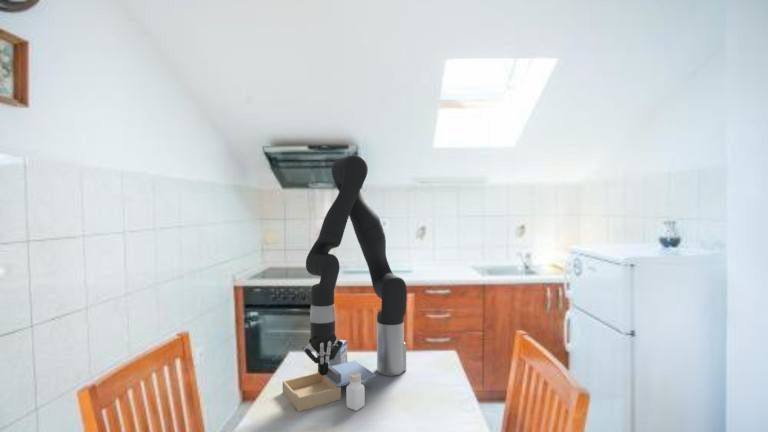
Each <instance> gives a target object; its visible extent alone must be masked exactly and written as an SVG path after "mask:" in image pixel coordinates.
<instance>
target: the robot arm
mask: <svg viewBox="0 0 768 432" xmlns="http://www.w3.org/2000/svg"><path fill="white" fill-rule="evenodd" d="M368 167H369V166H368V164H367V161H366V160H365V159H364V158H363V157H362V156H360V155H357V154H355V155H354V154H351V155H348V156H345V157H341V158H338V159H336V160H335V161H334V162H333V164H332V166H331V175H332V176H331V177H332V179H333V182H334V185H335V186H336V188H337V190H338V194H337V196H336V198H335V199H334V201H333V203H332V205H330V207H329V209H328V210H327V212H326V215H325V217H324V219H323V221H322V225H321V228H320V231H319V235H318V238H317V239H316V240H315V242H314V244H313V246H312V247H311V249H310V251H309V252H308V254H307V257H306V258H305V269H306V271H307V273H308V274H310V275H312V276H316V277H320V279H319V283H315V284H313V285H312V286H311V289H310V309H309V310H310V313H309V317H310V318H309V323H310V324H309V328H310V329H309V330H310V331H309V332H310V339H309V340H308V342H309V343H308V344H307V345H306V346H303V347H302V348H301V349H302V351H303V352H304V353H305V354H306V355H307V357H308V358H309V359H310V360H311V361H312V362H314V363H315V364H317V371H318V372H319V373H320V374H321V375H322V376H323V375H327V372H328V364H329V361H330V360H331V359H332V360H333V359H334V358H335V356H336V354H337V353H338V351H339V350H340V348H341V346H342V345H343V342H341V341H340V340H341V339H338V338H337V335H336V308H335V307H336V306H335V290H336V285H337V283H338V282H337V281H338V277H339V273H340V262H339V259H338V257H337V256H336V255H335V254H333V253H330V252H331V250H333V249H337V248H338V247H340V245H341V243H342V240H343V236H344V233H345V230H346V226H347V223H348V220H350V221H351V224H352V228H353V231H354V234H355V236H356V238H357V239H356V240H357V242H358V244H359V246H360V247H359V248H360V249H361V252H362V255H363V257H364V259H365V262H366V265H367V268H368V272H369V275H370V279H371V284H372V287H373V291H374V293H375V295H376V296H377V297H378V298H380V299H381V306H380V307H381V309H380V310H379V311H378V312H377V315H376V371H377V372H378V374H380V375H384V376H389V377H393V376H398V375H401V374H403V373H404V372H405V371H407V343H406V342H405V328H404V327H405V315H406V312H407V303H408V302H407V298H408V296H407V295H408V291H407V290H408V289H407V284H406V282H405V280H404V279H403V278H402V277H400V276H398V275H395V274H394V273H393V271H392V269H391V267H390V264H389V261H388V259H387V254H386V252H387V251H386V250H387V249H386V247H387V244H386V235H385V230H384V228H383V225H382V223H381V219H380V217H379V216H378V214H377V213H376V212H375V210H374V209H373V208H372V206H370V204H369V203H368V202H367V201H366V199H365V198H364V196H363V195H362V192H361V189H362V187H363V184H364V182H365V181H366V179H367V175H368V171H369V170H368V169H369V168H368ZM332 346H333V347H332ZM313 350H314V351H315V354H314V353H313ZM315 355H316V356H315Z"/></svg>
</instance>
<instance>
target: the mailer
mask: <svg viewBox="0 0 768 432" xmlns="http://www.w3.org/2000/svg"><path fill="white" fill-rule="evenodd" d="M282 394H283V395H284V396H285V397H286V398H287V400H288V401H289V402H290V403H291V405H292V406H293V407H294V408H295V409H296V411H298V412H302V411H305V410H309V409H312V408H317V407H319V406H322V405H326V404H328V403H333V402H336V401H338V400H341V399H342V386H340V387H337V386H335V385H334V384H333V383H332V382H331V381H330V380H328V379H327V378H326V377H325V376H324V375H323V376H322V375H321V374H320V373H319V372H313V373H311V374H310V373H309V374H306V375H302V376H298V377H294V378H290V379H287V380H283V381H282Z"/></svg>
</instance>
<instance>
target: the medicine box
mask: <svg viewBox="0 0 768 432" xmlns="http://www.w3.org/2000/svg"><path fill="white" fill-rule="evenodd" d="M339 340H340V341H341V342H343V345H342V346H341V348H340V350H339V351H338V353H337V354H336V356H335V358H334V359H333V360H332V359H331V360H330V361H329V362H328V364H329V365H330V366H335V365H339V364H343V363H347V362H348V340H346V339H344V340H343V339H339ZM332 347H333V346H332Z"/></svg>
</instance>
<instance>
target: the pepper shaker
mask: <svg viewBox="0 0 768 432" xmlns="http://www.w3.org/2000/svg"><path fill="white" fill-rule="evenodd" d="M361 382H362V380H361V373H359V372H353V373H351V374H350V384H347V385H346V398H345V399H346V407H347V408H348V409H351V410H353V411H359V410H361V408H364V406H365V403H366V402H365V397H366V396H365V394H366V393H365V385H364V384H362V383H361Z"/></svg>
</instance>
